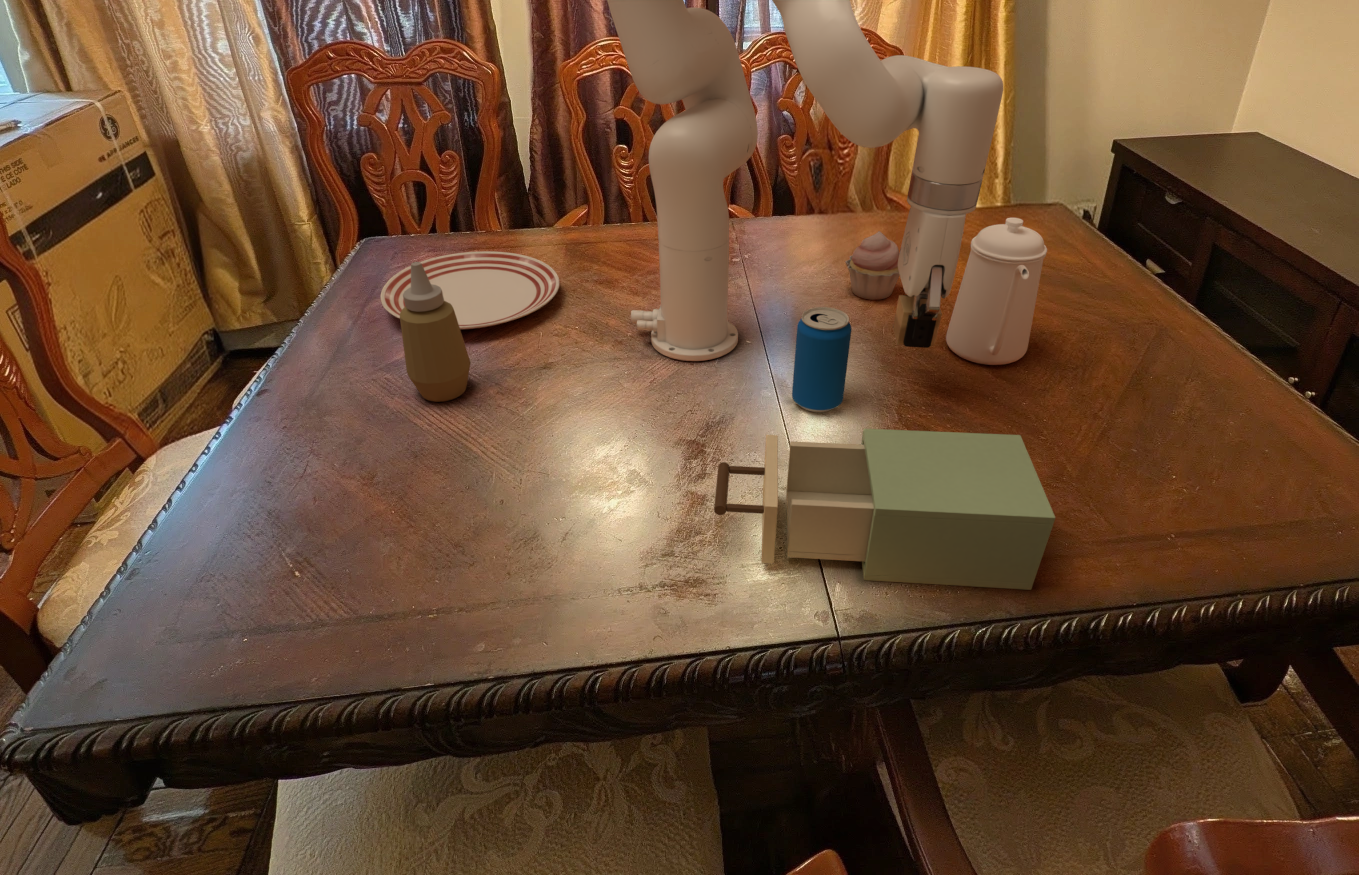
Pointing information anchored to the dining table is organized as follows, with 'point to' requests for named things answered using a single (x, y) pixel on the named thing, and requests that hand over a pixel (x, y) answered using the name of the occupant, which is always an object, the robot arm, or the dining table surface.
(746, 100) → the robot arm
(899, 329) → the block
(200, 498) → the dining table surface
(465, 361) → the squeeze bottle
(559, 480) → the dining table surface
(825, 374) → the beverage can
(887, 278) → the cupcake
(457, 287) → the dinner plate
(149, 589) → the dining table surface
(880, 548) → the cabinet
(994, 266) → the coffeepot
